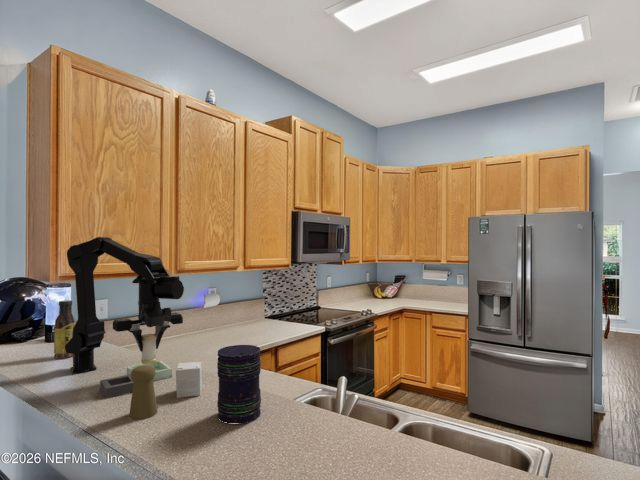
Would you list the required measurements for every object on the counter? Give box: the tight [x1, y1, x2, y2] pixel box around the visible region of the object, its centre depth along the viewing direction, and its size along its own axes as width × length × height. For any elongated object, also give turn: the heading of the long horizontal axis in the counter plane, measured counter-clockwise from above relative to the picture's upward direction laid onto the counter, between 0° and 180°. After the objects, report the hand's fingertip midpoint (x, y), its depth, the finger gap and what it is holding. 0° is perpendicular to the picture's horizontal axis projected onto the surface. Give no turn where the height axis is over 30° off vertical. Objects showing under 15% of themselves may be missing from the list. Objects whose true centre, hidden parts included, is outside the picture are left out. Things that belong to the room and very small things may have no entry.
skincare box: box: [175, 361, 203, 399], centre depth 103 cm, size 6×6×7 cm
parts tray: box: [126, 359, 173, 382], centre depth 116 cm, size 11×10×2 cm
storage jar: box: [216, 344, 262, 424], centre depth 89 cm, size 10×10×15 cm
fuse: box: [140, 333, 158, 364], centre depth 117 cm, size 4×4×8 cm
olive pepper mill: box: [128, 365, 158, 421], centre depth 90 cm, size 6×6×11 cm
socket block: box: [99, 374, 134, 399], centre depth 105 cm, size 8×8×2 cm
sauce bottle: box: [53, 299, 76, 360], centre depth 138 cm, size 7×6×20 cm
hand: (148, 350), depth 117 cm, fingers closed on fuse, 4 cm apart
